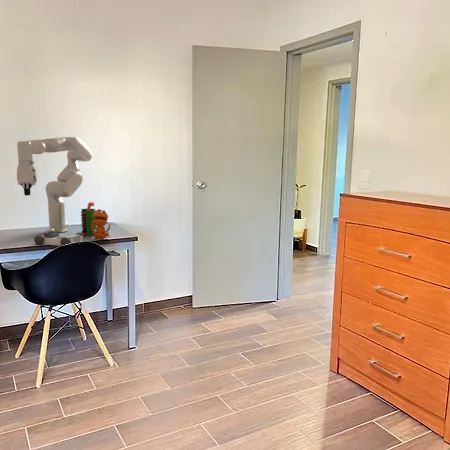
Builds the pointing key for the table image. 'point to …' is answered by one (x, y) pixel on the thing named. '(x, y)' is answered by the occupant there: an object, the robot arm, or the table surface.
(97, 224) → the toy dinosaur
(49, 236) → the engine block
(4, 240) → the table surface
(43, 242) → the chassis
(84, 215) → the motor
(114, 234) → the table surface
